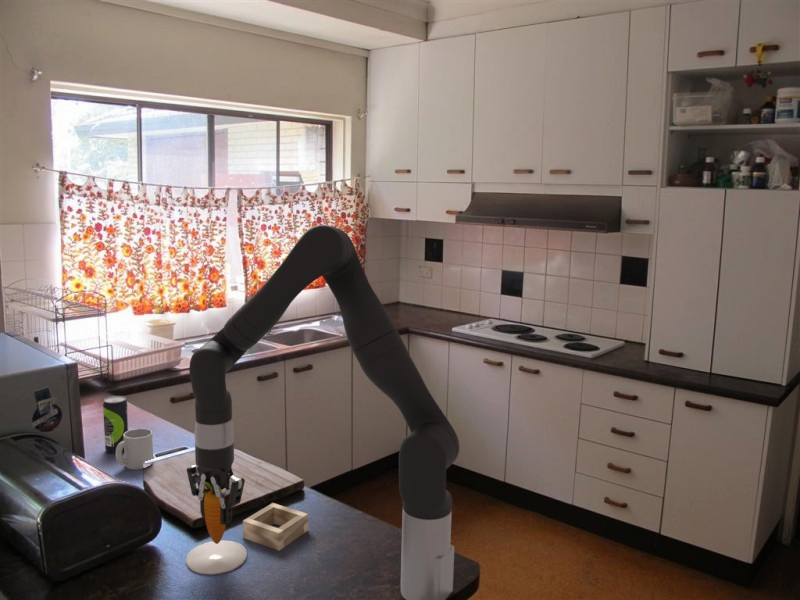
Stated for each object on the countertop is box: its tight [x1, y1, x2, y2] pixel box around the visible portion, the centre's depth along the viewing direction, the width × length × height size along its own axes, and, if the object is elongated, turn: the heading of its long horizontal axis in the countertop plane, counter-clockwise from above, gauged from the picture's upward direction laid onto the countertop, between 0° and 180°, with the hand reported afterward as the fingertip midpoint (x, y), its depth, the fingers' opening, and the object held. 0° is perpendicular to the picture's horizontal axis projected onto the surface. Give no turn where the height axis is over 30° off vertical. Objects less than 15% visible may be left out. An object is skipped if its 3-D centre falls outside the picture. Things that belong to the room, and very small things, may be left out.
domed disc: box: [185, 539, 248, 575], centre depth 144 cm, size 12×12×1 cm
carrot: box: [203, 482, 227, 544], centre depth 142 cm, size 5×5×15 cm
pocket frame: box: [242, 502, 309, 552], centre depth 154 cm, size 10×10×4 cm
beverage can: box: [102, 395, 129, 454], centre depth 197 cm, size 6×6×15 cm
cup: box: [115, 428, 154, 471], centre depth 187 cm, size 7×10×9 cm
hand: (216, 519), depth 143 cm, fingers closed on carrot, 4 cm apart
